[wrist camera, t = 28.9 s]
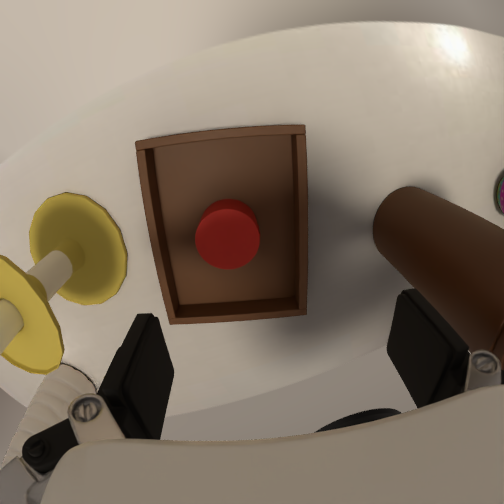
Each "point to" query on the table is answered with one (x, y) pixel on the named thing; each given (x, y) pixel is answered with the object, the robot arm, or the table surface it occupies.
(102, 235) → the candle
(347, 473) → the robot arm
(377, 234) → the bottle
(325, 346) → the table surface
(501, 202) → the egg
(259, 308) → the tray
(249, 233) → the cap
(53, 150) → the table surface
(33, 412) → the white ribbed tube
